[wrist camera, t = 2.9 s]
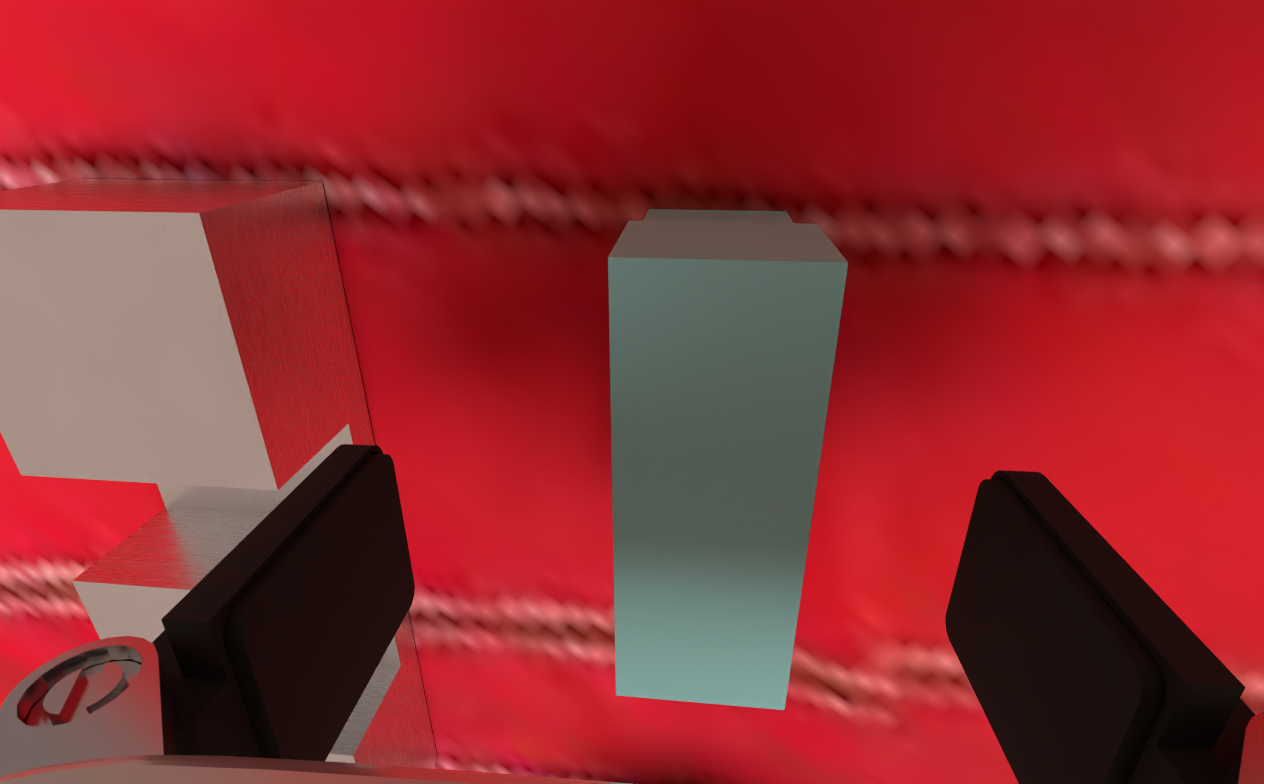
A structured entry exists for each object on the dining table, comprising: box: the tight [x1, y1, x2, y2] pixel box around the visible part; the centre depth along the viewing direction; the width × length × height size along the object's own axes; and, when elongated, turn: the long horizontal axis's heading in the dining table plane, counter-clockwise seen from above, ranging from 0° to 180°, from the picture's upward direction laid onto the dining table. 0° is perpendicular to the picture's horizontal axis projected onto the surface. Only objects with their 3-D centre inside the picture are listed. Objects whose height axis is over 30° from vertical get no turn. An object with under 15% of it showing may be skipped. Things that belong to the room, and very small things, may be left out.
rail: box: [0, 179, 437, 769], centre depth 18 cm, size 20×6×4 cm, turn 0°
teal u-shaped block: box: [608, 209, 848, 710], centre depth 13 cm, size 8×3×6 cm, turn 0°
